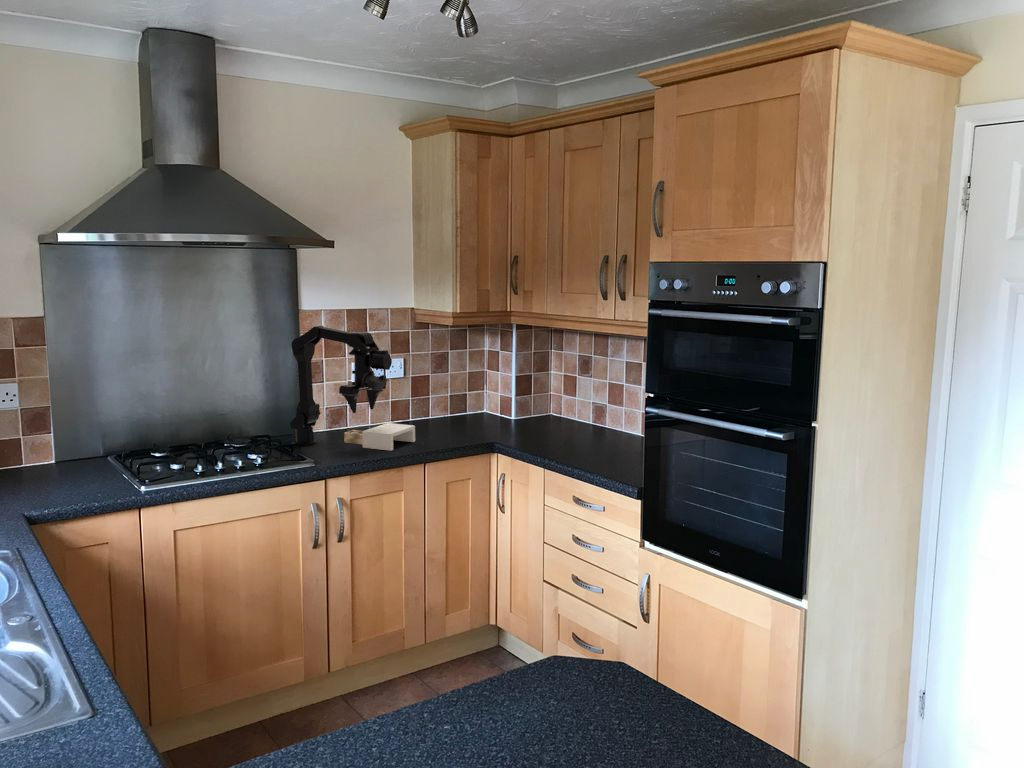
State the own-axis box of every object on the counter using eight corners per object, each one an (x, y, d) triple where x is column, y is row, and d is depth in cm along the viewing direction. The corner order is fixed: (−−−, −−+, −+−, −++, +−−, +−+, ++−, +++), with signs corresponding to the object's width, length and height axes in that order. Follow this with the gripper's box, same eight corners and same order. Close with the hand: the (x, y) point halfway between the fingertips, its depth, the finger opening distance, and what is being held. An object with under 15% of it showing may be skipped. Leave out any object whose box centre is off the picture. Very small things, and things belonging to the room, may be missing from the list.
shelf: (362, 447, 302) (362, 431, 302) (388, 438, 318) (387, 423, 317) (390, 450, 298) (390, 434, 297) (415, 441, 313) (415, 425, 312)
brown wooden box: (344, 443, 311) (344, 432, 310) (353, 440, 316) (352, 429, 315) (366, 445, 307) (366, 435, 306) (375, 442, 312) (375, 432, 311)
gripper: (362, 372, 283) (362, 417, 286) (397, 367, 299) (397, 409, 301) (337, 369, 289) (338, 414, 292) (373, 364, 305) (374, 406, 307)
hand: (363, 411), depth 298 cm, fingers open, 9 cm apart
